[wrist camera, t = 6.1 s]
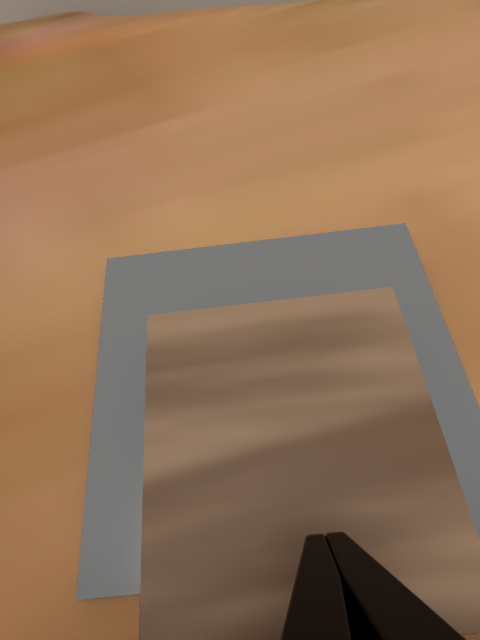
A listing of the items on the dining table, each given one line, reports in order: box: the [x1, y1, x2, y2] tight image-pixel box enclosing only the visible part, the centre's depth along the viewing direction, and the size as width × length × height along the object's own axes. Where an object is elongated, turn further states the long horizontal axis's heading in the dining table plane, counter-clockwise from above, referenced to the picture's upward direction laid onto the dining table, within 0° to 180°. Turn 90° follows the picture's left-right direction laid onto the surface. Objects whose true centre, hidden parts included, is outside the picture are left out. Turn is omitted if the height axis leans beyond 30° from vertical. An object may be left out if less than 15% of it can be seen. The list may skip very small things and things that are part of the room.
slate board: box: [76, 223, 480, 601], centre depth 17 cm, size 15×16×1 cm
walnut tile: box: [139, 287, 480, 640], centre depth 14 cm, size 3×10×11 cm
